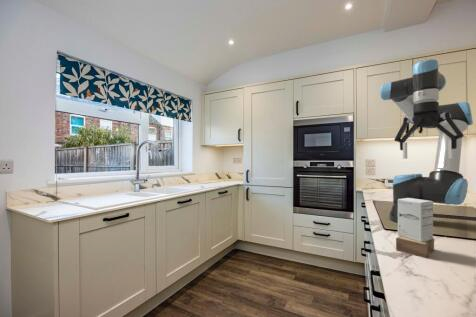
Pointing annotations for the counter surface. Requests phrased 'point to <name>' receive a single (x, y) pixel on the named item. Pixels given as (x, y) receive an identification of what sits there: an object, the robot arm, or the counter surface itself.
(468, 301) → the counter surface
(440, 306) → the counter surface
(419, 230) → the supplement box
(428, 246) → the brown wooden block
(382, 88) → the robot arm
